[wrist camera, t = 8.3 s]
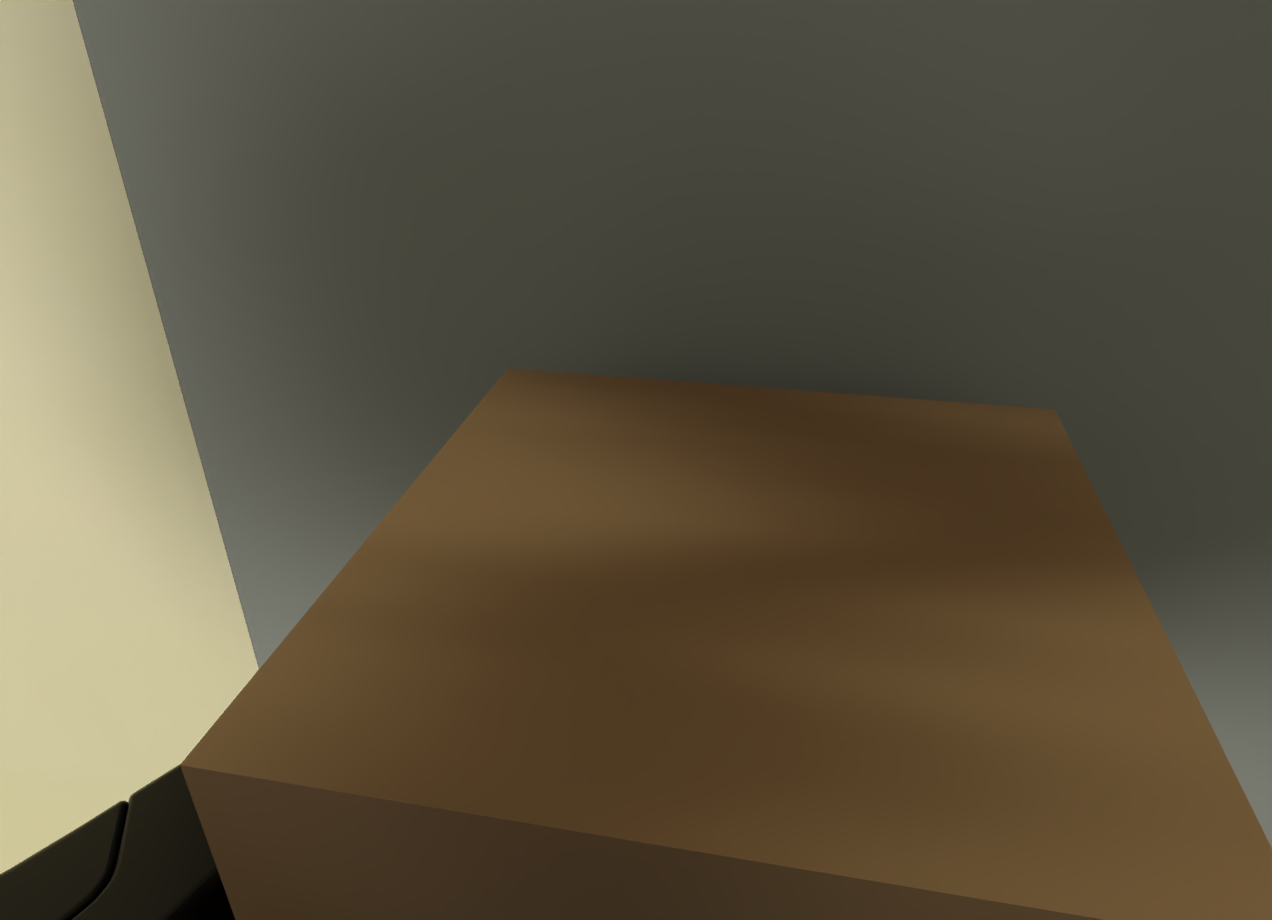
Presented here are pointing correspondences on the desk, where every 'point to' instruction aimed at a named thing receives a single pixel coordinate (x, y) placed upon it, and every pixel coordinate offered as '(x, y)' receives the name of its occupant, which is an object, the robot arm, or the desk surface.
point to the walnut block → (731, 682)
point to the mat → (717, 248)
